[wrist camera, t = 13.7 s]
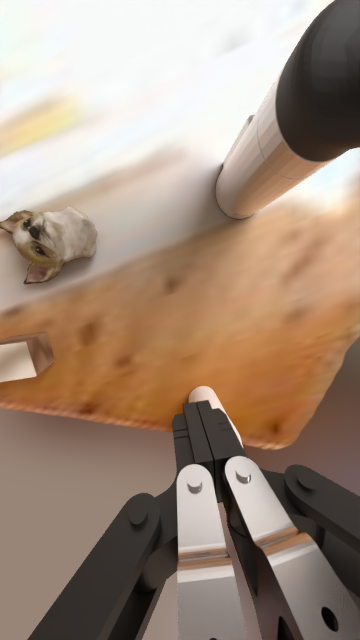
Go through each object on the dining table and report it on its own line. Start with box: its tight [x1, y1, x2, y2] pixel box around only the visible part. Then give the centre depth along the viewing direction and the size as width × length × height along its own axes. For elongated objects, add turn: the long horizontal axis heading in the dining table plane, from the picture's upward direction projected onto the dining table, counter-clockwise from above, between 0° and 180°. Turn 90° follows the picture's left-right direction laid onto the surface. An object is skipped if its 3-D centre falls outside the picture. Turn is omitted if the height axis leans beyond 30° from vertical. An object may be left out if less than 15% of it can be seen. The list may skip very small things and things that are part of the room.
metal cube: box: [0, 332, 55, 382], centre depth 32 cm, size 6×6×6 cm
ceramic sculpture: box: [0, 206, 97, 284], centre depth 28 cm, size 11×9×15 cm
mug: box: [189, 386, 243, 447], centre depth 36 cm, size 10×7×12 cm, turn 57°
